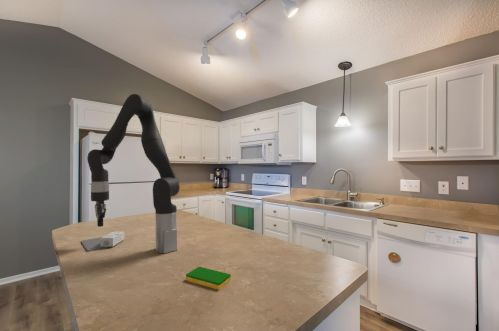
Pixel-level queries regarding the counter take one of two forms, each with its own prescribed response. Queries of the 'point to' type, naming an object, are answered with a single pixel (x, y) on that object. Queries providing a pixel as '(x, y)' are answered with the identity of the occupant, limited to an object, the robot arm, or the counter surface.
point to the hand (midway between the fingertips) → (100, 226)
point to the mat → (93, 244)
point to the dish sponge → (208, 277)
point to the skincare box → (112, 239)
